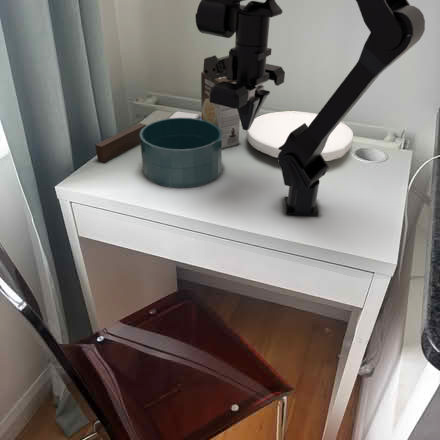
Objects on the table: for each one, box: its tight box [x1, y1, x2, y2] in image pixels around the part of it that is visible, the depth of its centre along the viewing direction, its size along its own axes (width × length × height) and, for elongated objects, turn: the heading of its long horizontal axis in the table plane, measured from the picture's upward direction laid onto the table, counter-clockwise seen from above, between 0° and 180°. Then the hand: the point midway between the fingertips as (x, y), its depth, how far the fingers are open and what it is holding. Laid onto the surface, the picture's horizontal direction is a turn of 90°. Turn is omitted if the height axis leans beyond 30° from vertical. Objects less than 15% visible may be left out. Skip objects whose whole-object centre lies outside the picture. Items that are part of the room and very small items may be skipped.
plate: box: [245, 110, 354, 162], centre depth 114 cm, size 28×6×27 cm
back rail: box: [95, 122, 147, 164], centre depth 111 cm, size 2×16×4 cm, turn 148°
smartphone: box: [166, 110, 200, 119], centre depth 125 cm, size 7×1×15 cm
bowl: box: [139, 117, 223, 189], centre depth 103 cm, size 18×18×8 cm
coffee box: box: [200, 71, 241, 149], centre depth 112 cm, size 9×6×16 cm
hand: (245, 129), depth 90 cm, fingers closed
